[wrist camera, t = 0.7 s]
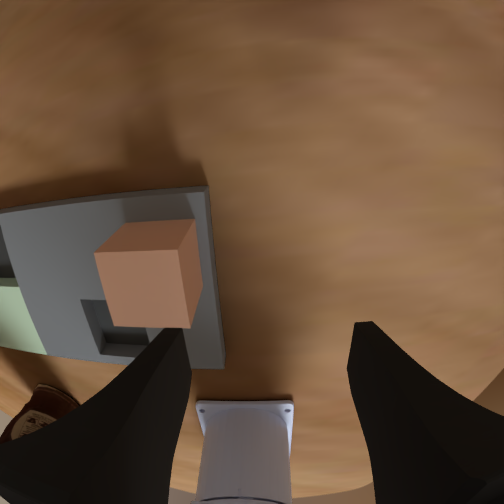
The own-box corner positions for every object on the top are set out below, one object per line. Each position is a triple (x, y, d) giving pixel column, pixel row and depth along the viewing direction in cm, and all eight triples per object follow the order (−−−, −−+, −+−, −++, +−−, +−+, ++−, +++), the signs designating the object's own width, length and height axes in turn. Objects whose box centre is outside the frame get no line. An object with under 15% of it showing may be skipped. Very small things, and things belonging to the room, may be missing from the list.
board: (225, 354, 22) (221, 388, 19) (2, 335, 23) (-15, 356, 20) (208, 185, 18) (197, 201, 15) (-40, 216, 18) (-66, 231, 15)
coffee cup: (39, 361, 24) (-24, 465, 12) (108, 413, 26) (67, 523, 15) (21, 393, 27) (-27, 477, 15) (79, 435, 29) (44, 523, 17)
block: (203, 285, 18) (190, 328, 15) (138, 286, 19) (114, 325, 15) (194, 218, 17) (177, 249, 13) (125, 222, 17) (93, 252, 13)
